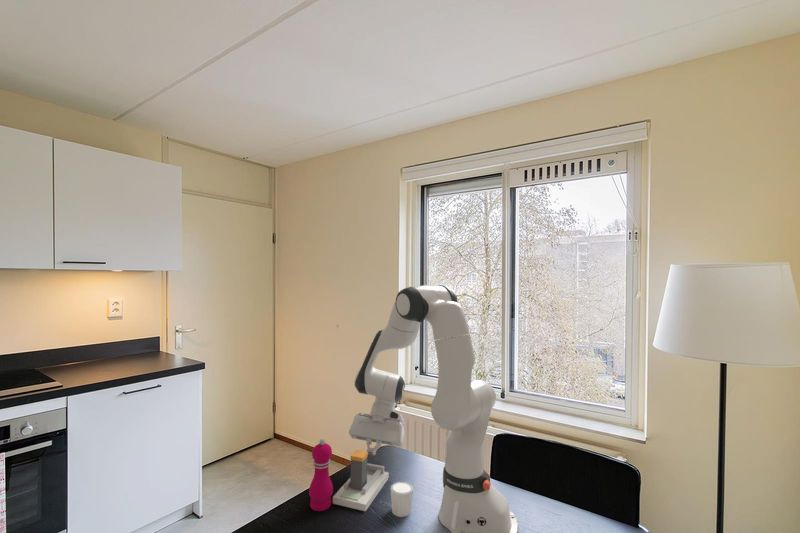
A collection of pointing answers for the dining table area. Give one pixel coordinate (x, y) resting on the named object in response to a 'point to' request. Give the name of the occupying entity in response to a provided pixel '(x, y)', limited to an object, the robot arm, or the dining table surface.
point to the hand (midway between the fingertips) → (370, 453)
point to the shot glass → (401, 498)
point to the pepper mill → (321, 478)
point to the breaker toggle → (358, 470)
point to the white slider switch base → (368, 492)
